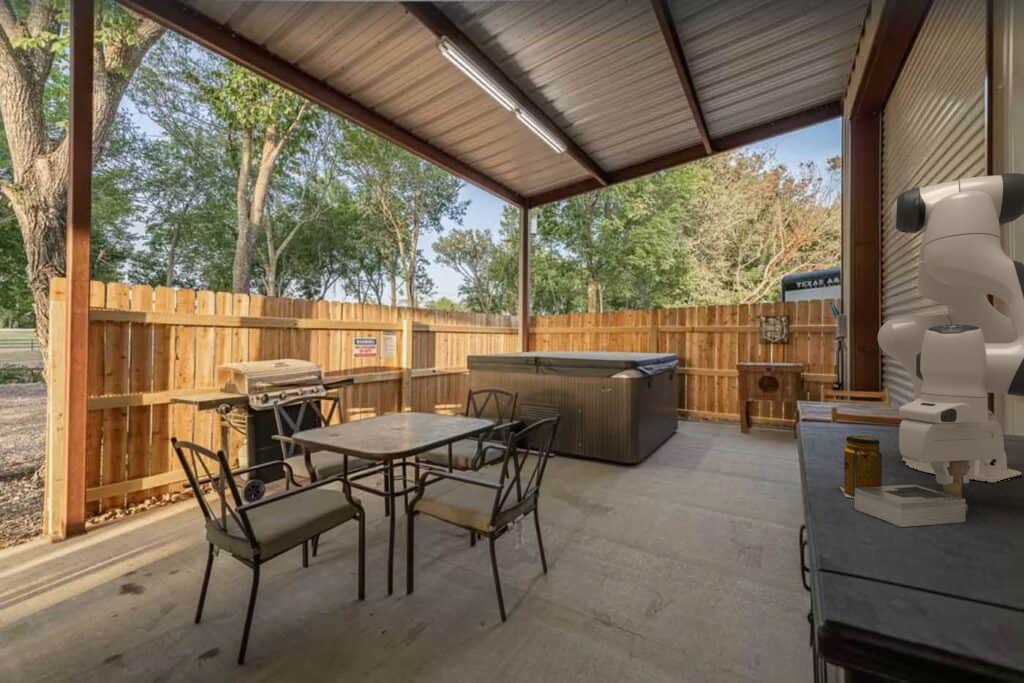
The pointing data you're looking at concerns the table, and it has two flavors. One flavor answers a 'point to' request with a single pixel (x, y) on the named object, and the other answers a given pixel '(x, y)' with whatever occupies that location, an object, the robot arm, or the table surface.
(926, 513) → the keyhole plate
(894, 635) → the table surface
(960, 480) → the peg
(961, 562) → the table surface
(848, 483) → the condiment
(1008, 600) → the table surface
